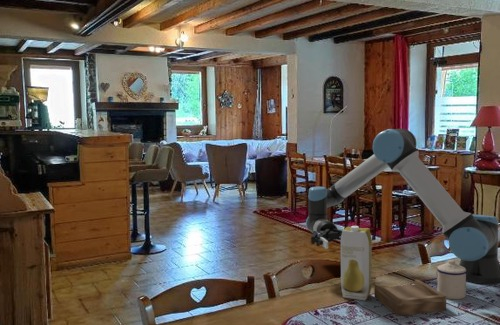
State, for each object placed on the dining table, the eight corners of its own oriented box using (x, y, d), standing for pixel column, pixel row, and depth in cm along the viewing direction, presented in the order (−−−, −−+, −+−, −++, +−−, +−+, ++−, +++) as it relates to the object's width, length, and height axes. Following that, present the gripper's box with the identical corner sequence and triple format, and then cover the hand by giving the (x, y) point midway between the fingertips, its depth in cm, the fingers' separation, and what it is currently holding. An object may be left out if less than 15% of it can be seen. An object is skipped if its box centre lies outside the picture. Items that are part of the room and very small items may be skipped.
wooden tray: (419, 292, 166) (419, 279, 166) (446, 310, 150) (446, 296, 150) (374, 297, 163) (374, 283, 163) (397, 315, 148) (397, 301, 147)
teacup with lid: (472, 298, 160) (473, 262, 159) (448, 301, 158) (449, 265, 157) (448, 286, 172) (448, 253, 171) (425, 289, 169) (425, 256, 168)
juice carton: (339, 298, 163) (338, 226, 161) (345, 290, 170) (345, 222, 168) (368, 302, 159) (367, 228, 157) (373, 294, 166) (372, 223, 164)
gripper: (355, 237, 196) (378, 252, 175) (294, 241, 192) (311, 256, 171) (355, 219, 195) (379, 231, 175) (294, 222, 191) (311, 235, 170)
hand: (345, 244), depth 173 cm, fingers open, 13 cm apart
